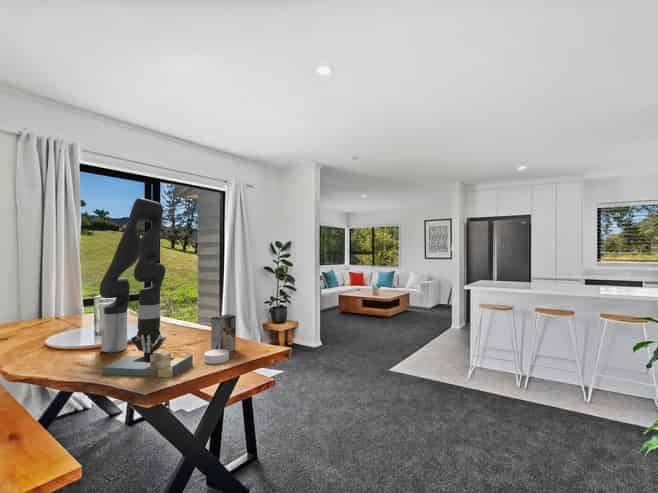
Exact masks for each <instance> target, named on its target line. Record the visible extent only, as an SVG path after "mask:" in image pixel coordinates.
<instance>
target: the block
mask: <svg viewBox="0 0 658 493" xmlns="http://www.w3.org/2000/svg"><path fill="white" fill-rule="evenodd" d="M171 358H172V352H171V351H160V350H158V351H155V352H153V354H152V355H150V369H165V368H166V367H168V366H170V365H171Z"/></svg>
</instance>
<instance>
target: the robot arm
mask: <svg viewBox="0 0 658 493" xmlns="http://www.w3.org/2000/svg"><path fill="white" fill-rule="evenodd" d="M163 213H164V208H163V204H161V203H160V202H158V201H154V200H152V199H151V200H150V199H148V198H147V199H146V198H143V197H137V199H136V200H135V201H134V202H133V205H132V207H131V210H130V213H129V217H128V221H127V223H126V226H125V229H124V231H123V233H122V236H121V238H120V239H119V242H118V245H117V248H116V250H115V252H114V255H113V259H112V260H111V262H110V265H109V267H108V268H107V271H106V273H105V274H104V276H103V277H102V280H101V282H100V285H99V288H98V289H99V295H100V297H102V298H103V299H115V300H113V302H112V303H110V304H108V305H105V306H104V309H103V329H101V352H104V353H117V352H123V351H125V350H127V349H128V309H129V305H130V304H129V303H130V290H131V289H130V287H131V286H130V281H129V279H128V278H126V277H124V276H122V277H121V275H123V273H124V272H126V271H127V270H128V269H129V268H131V267H132V266H134V264H136V265H135V268H134V270H133V277H134V280H135V281H136V282H139V283H151V282H152V283H154V284H152V285H151V286H149V287H144V288H142V289H140V290H139V291H138V308H137V330H138V331H137V334H136V335H135V336H133V337H131V341H132V342H133V344H134V345H135V347H136V348H137V350H138V351H139V352H143V356H144V361H145V363H150V355H152V354H154V353H155V352H157V350H158V351H159V349H160V348H161V346H162V345H163V344H164V342H165V341H166V340H167V338H166V337H165V336H162V335H161V332H160V327H161V304H160V303H161V300H160V299H161V288H162V285H163V281H164V279H165V275H166V267H165V265H164V264H163V263H159V262H157V261H159V259H160V254H161V253H160V235H161V229H162V224H163V223H162V222H163V216H164V214H163ZM140 221H142V222H147V223H151V224H152V225H151V227H150V229H148V230H147V231H146V232H145V233H144V234H143V235H142V237H141V236H140V233H139V229H138V222H140ZM136 262H137V263H136Z"/></svg>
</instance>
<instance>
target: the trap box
mask: <svg viewBox="0 0 658 493" xmlns="http://www.w3.org/2000/svg"><path fill="white" fill-rule="evenodd" d="M193 357H194V356H193V354H190V355H188V356H187V357H171V365H170V366H168V367H166V368H165V369H150V363H145V361H144V355H143V356H139V355H126V356H124V357H122V358H120V359H118V360H115V361H113V362H112V363H109V364H107V365H104V366H103V367H102V371H101V372H102V375H112V374H117V375H116V376H133V375H139V376H138V377H154V376H156V378H175V377H177V376H178V375H179V374H181V373H182V372H184V371H185V370H186V369H188V368H190V367H191V366H193V365H194V364H193V363H194V362H193Z"/></svg>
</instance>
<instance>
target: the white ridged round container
mask: <svg viewBox="0 0 658 493" xmlns="http://www.w3.org/2000/svg"><path fill="white" fill-rule="evenodd" d="M229 359H230V352H229V351H228V350H225V349H214V350H210V349H209V350H207V351H205V352H204V354H203V362H204V363H207V364H211V365H212V364H213V365H214V364H215V365H216V364H217V365H218V364H222V363H226V362H228V361H229Z"/></svg>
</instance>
